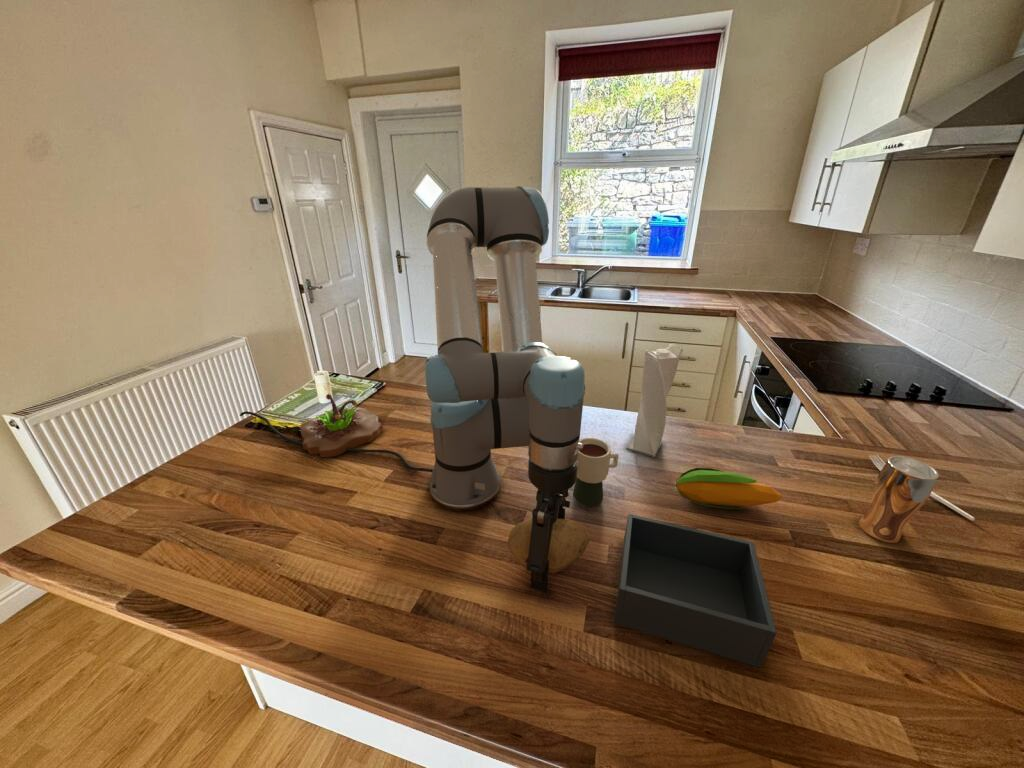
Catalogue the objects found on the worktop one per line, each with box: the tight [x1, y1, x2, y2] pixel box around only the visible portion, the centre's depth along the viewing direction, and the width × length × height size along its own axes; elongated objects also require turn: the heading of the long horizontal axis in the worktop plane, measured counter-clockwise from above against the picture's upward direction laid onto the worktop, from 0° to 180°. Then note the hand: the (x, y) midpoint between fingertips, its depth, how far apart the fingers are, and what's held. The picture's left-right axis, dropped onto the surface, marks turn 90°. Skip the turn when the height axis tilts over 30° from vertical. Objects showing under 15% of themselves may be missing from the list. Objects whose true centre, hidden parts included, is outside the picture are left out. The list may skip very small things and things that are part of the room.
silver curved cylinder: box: [858, 455, 940, 544], centre depth 73 cm, size 7×7×15 cm
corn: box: [675, 467, 783, 510], centre depth 82 cm, size 7×8×20 cm
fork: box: [869, 453, 976, 522], centre depth 86 cm, size 3×20×2 cm, turn 12°
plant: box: [299, 393, 384, 458], centre depth 105 cm, size 20×20×11 cm
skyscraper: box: [625, 343, 684, 459], centre depth 95 cm, size 8×8×28 cm
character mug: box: [572, 437, 619, 508], centre depth 82 cm, size 11×7×13 cm, turn 94°
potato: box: [507, 518, 591, 574], centre depth 69 cm, size 10×14×8 cm
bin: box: [613, 513, 777, 669], centre depth 62 cm, size 20×16×8 cm
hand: (548, 559), depth 70 cm, fingers open, 11 cm apart
